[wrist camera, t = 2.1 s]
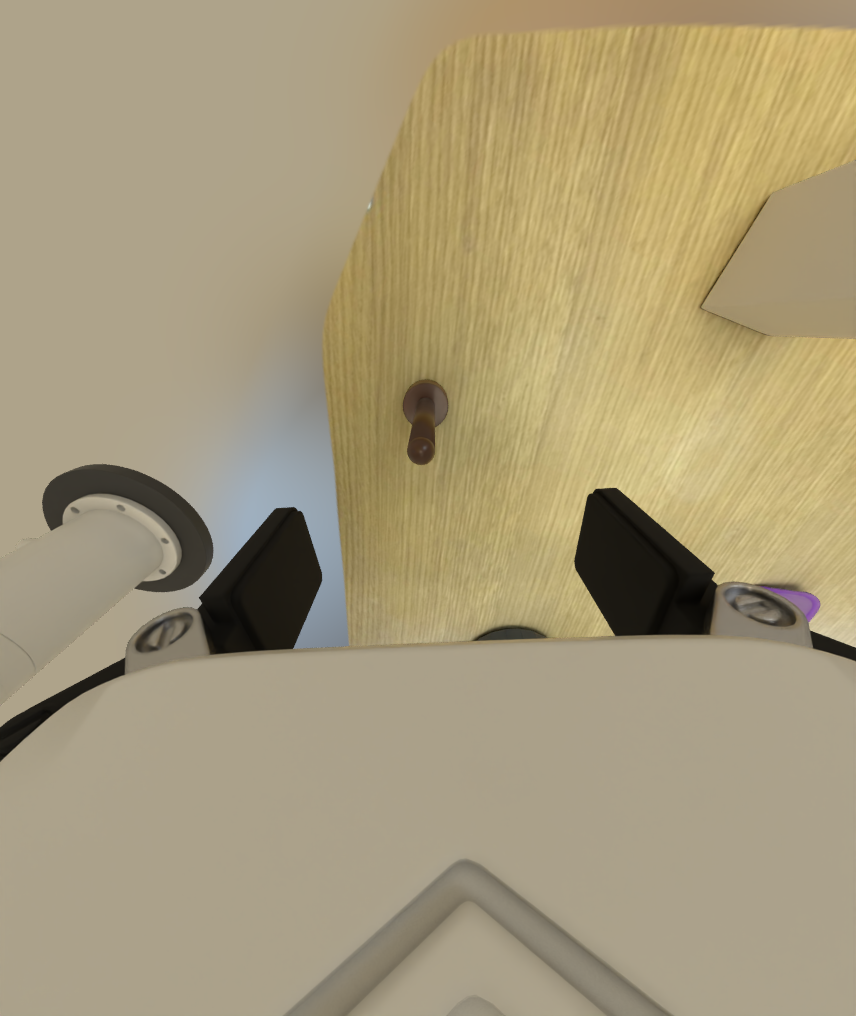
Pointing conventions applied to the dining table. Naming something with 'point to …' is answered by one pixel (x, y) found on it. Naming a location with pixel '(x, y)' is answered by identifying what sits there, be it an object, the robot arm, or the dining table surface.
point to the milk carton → (796, 262)
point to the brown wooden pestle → (424, 418)
